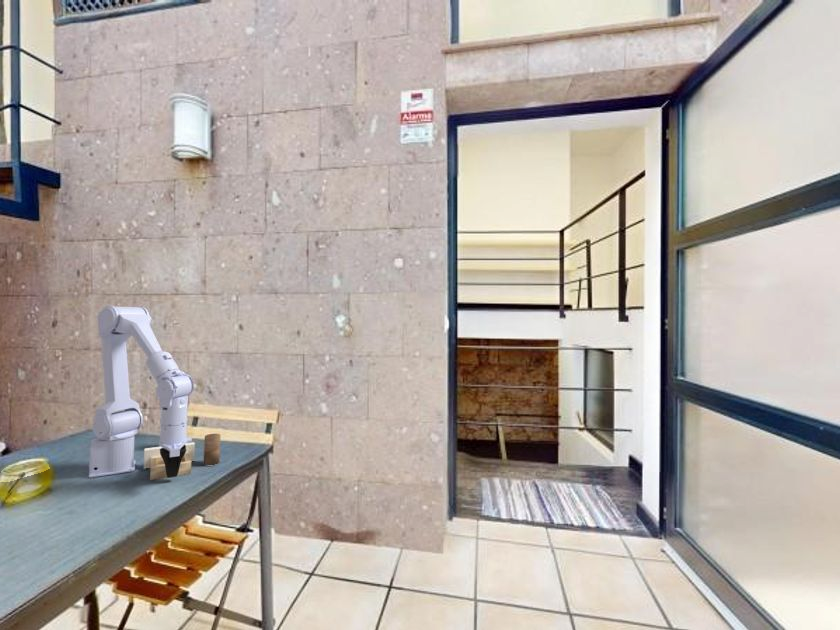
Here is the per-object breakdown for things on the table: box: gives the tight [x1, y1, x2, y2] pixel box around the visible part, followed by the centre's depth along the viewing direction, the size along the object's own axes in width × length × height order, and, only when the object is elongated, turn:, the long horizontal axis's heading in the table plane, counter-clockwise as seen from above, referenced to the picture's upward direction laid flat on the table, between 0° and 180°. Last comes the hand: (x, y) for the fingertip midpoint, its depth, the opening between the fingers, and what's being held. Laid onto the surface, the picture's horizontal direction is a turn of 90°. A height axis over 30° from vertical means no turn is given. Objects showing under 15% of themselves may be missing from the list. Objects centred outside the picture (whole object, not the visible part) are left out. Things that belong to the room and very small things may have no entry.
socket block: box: [149, 452, 192, 481], centre depth 107 cm, size 9×9×3 cm
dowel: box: [203, 433, 221, 466], centre depth 113 cm, size 4×4×8 cm
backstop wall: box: [143, 441, 196, 470], centre depth 112 cm, size 12×2×5 cm, turn 124°
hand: (172, 476), depth 101 cm, fingers closed
